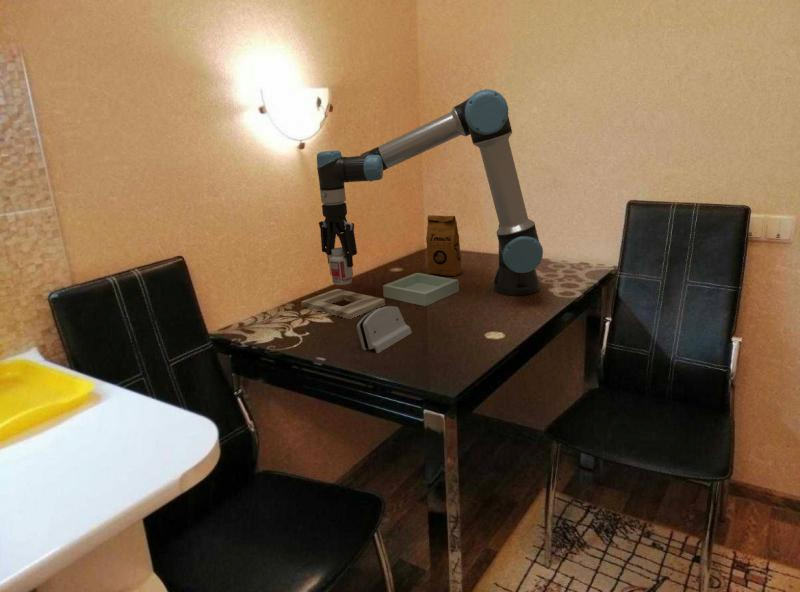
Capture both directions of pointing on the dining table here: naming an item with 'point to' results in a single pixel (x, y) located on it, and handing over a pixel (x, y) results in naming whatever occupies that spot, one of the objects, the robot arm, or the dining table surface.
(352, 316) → the socket block
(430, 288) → the tray
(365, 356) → the dining table surface
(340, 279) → the pill bottle
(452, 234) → the coffee package
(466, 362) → the dining table surface
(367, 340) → the napkin holder
